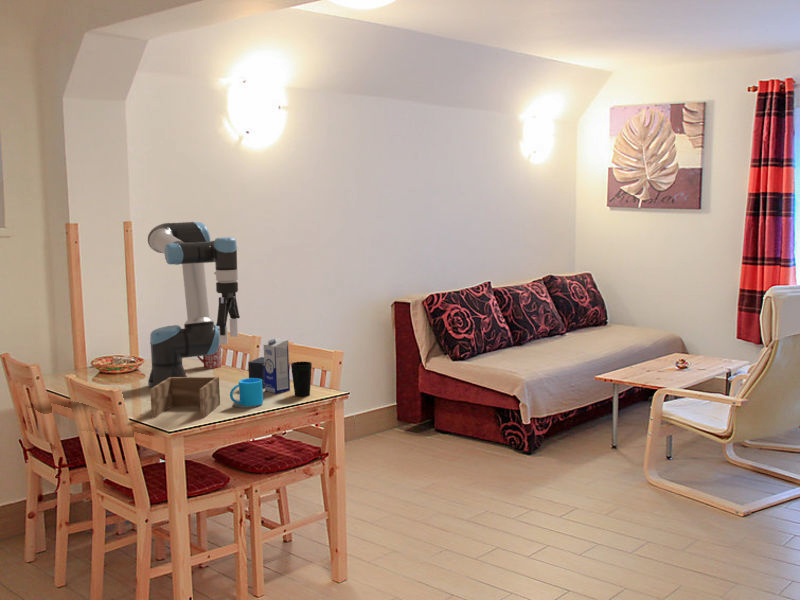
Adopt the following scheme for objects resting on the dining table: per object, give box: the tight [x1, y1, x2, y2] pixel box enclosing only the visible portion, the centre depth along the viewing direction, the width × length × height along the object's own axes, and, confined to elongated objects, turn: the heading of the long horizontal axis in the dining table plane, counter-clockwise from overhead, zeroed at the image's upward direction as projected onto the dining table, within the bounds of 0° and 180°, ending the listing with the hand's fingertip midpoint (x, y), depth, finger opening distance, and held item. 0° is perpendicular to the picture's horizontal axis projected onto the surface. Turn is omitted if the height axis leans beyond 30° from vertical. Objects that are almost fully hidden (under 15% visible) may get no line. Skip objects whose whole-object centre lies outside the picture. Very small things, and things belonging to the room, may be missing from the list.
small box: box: [247, 356, 265, 389], centre depth 315 cm, size 11×6×10 cm, turn 161°
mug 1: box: [196, 343, 222, 369], centre depth 352 cm, size 13×9×14 cm
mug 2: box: [229, 377, 264, 406], centre depth 284 cm, size 12×8×8 cm
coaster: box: [232, 402, 262, 409], centre depth 286 cm, size 10×10×1 cm
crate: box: [149, 376, 221, 419], centre depth 278 cm, size 18×18×10 cm
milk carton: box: [263, 337, 291, 395], centre depth 305 cm, size 7×7×20 cm
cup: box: [290, 361, 313, 398], centre depth 298 cm, size 8×8×12 cm
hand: (229, 340), depth 287 cm, fingers open, 13 cm apart
